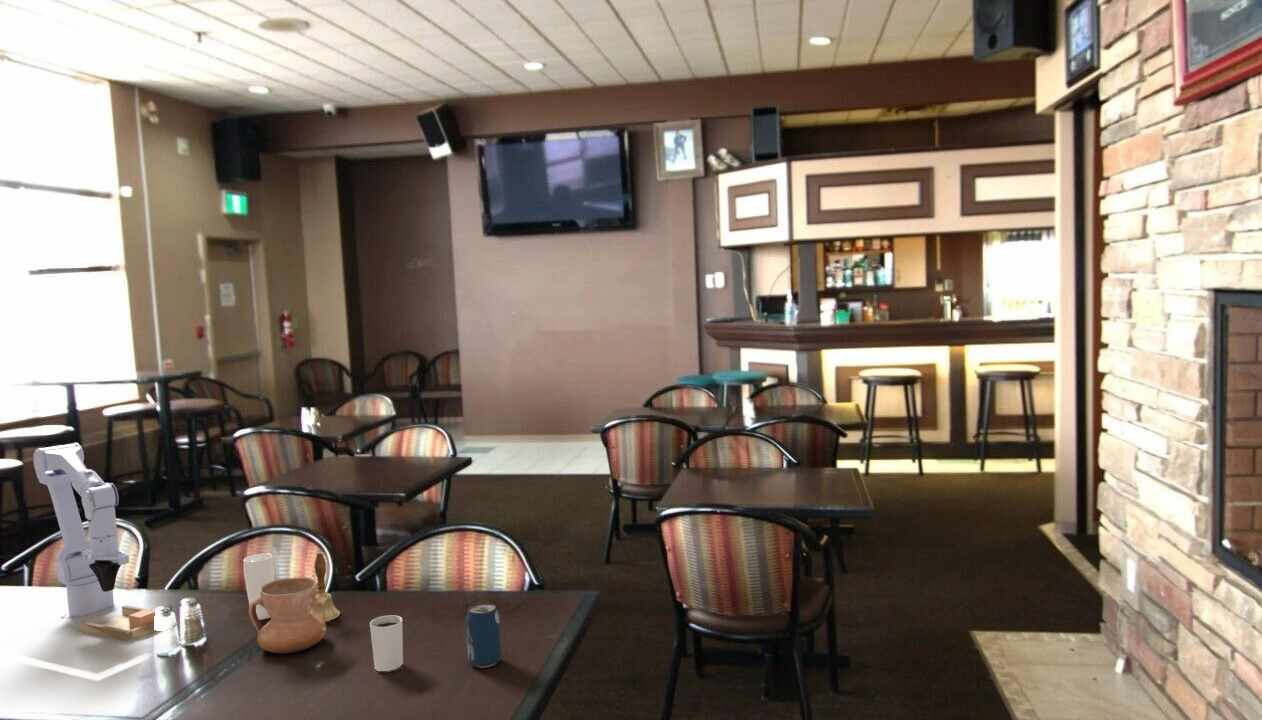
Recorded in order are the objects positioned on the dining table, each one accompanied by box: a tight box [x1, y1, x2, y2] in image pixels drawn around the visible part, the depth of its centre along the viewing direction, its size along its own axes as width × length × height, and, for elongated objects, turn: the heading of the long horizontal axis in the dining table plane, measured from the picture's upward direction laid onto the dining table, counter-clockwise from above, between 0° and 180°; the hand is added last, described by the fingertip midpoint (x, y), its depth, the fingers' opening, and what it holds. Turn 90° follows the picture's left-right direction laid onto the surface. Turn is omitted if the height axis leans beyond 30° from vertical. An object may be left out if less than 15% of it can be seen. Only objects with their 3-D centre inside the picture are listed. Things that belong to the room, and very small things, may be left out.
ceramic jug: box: [248, 576, 327, 654], centre depth 198 cm, size 18×14×14 cm
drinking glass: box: [243, 553, 275, 621], centre depth 217 cm, size 7×7×15 cm
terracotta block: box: [129, 609, 156, 630], centre depth 208 cm, size 4×4×4 cm
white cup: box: [369, 614, 404, 671], centre depth 185 cm, size 7×7×10 cm
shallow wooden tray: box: [77, 604, 155, 642], centre depth 211 cm, size 12×18×3 cm, turn 65°
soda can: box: [465, 602, 502, 666], centre depth 185 cm, size 7×7×12 cm
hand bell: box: [310, 552, 341, 623], centre depth 215 cm, size 8×8×16 cm
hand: (108, 590), depth 213 cm, fingers closed
